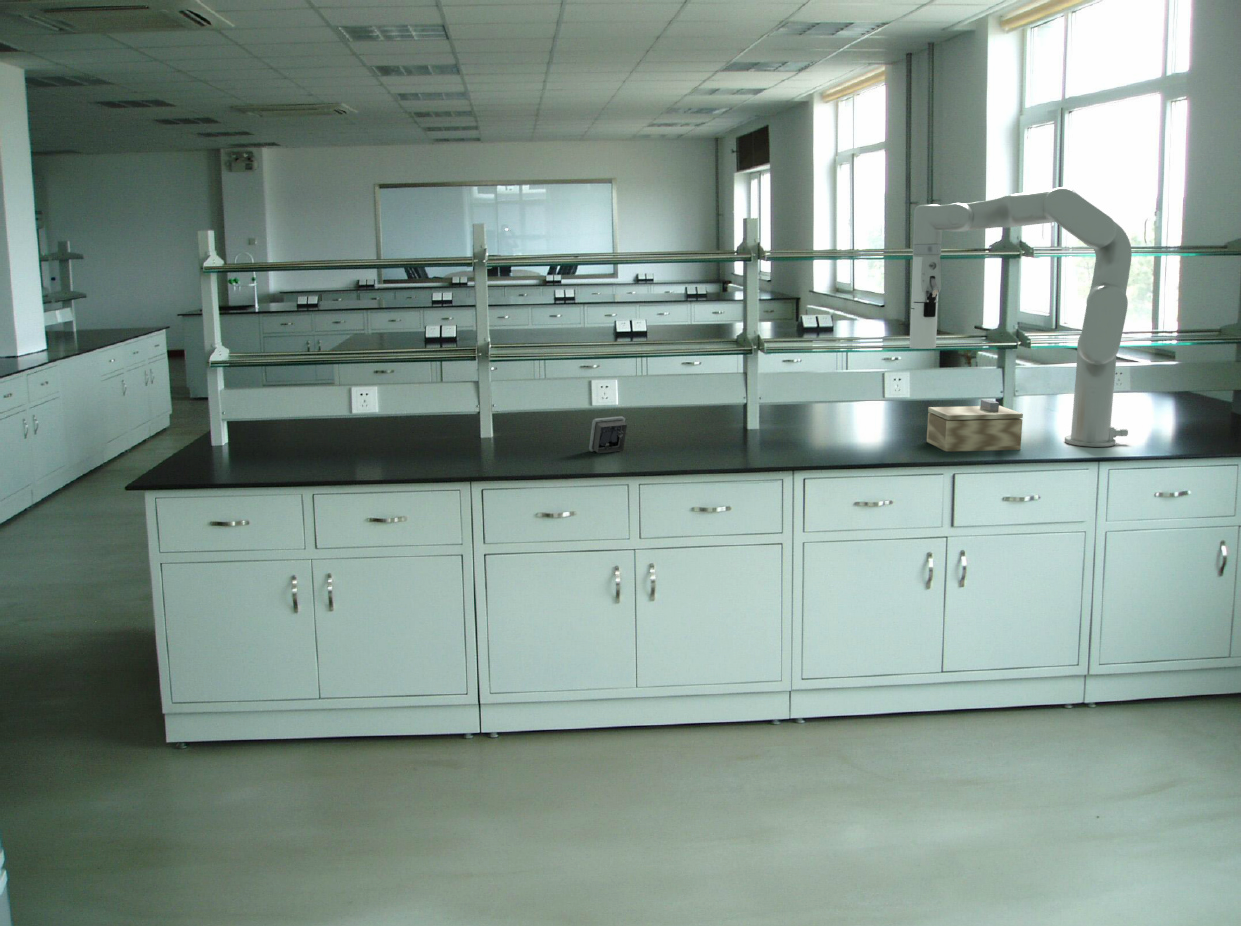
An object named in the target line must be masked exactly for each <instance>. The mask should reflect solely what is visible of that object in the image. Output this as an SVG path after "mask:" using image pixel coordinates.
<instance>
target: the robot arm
mask: <svg viewBox="0 0 1241 926" xmlns="http://www.w3.org/2000/svg"><path fill="white" fill-rule="evenodd" d="M913 215H914V216H913V237H912V238H913V241H912V244H913V245H912V257H913V256H918V257H923V258H922V270H921V285H922V292H924V293H925V302H924V314H923V316H924V317H935V315H936V301H937V299H936V297H937V293H938V294H939V293H940V292H941V290H942V264H941V263H942V262H941V256H942V240H943V238H942V237H943V231H948V232H955V233H956V232H960V233H961V232H969V231H977V230H983V229H985V230H986V229H994V228H1014V227H1015V228H1016V227H1025V226H1032V225H1039V224H1050V223H1056V224H1058V226H1060V227H1061V228H1062V229H1064V230H1065V231H1066V232H1068V233H1069V234H1071V235H1072V236H1073V237H1075V238H1076V239H1078V240H1079V241H1080V242H1082V243H1083V244H1084V245H1086V246H1087V247H1088V248H1092V249H1093V251H1094V254H1095V262H1094V268H1093V276H1092V279H1091V285H1090V290H1089V293H1088V295H1087V298H1086V308H1085V312H1084V318H1083V322H1082V323H1083V324H1082V327H1081V328H1082V329H1081V333H1080V335H1079V337H1078V340H1077V346H1076V347H1077V349H1076V368H1075V369H1076V371H1075V383H1074V392H1073V395H1074V396H1073V407H1072V408H1073V409H1072V419H1071V420H1072V421H1071V433H1070V435H1066V436H1065V437H1064V442H1065V443H1067V444H1069V445H1074V446H1079V447H1091V448H1093V447H1094V448H1104V447H1113V446H1115V445H1116V442H1117V441H1116V439H1115V438H1116V437H1128V435H1129V430H1128V429H1127V428H1122V429H1121V428H1120V429H1118V428H1115V427H1113V426H1111V425H1112V416H1113V415H1112V414H1113V401H1114V392H1115V391H1114V389H1115V382H1116V381H1115V379H1116V369H1117V366H1116V365H1117V354H1118V353H1119V349H1120V346H1121V342H1122V341H1121V340H1122V336H1123V332H1124V327H1125V324H1126V317H1127V313H1128V312H1127V311H1128V305H1129V303H1128V302H1129V301H1128V297H1127V289H1128V284H1129V277H1130V271H1131V265H1132V257H1133V256H1132V253H1133V252H1132V246H1131V242H1130V238H1129V237H1128V235H1127V233H1126V232H1125V230H1124V229H1123V227H1122V226H1120V224H1119V223H1117V222H1115V221H1114V219H1113V217H1112V218H1111V216H1109V215H1108V214H1106V213H1104V212H1103V211H1102V210H1101V209H1099V208H1098V207H1097V206H1095V205H1094V204H1092V203H1091V202H1089V201H1088V200H1087V199H1085V198H1084V197H1083V196H1081V195H1080V194H1079V193H1078V192H1076V191H1075V190H1073V188H1070V187H1065V186H1062V187H1056V188H1052V189H1045V190H1044V189H1043V190H1037V191H1030V192H1029V191H1028V192H1020V193H1012V194H1008V195H1004V196H1002V197H999V198H995V199H989V200H983V201H975V202H966V203H961V202H955V203H950V204H949V203H947V204H941V205H940V204H920V205H916V207H915V208H914V213H913ZM931 265H932V266H931ZM929 283H930V285H931V288H932V291H927V287H928V286H929ZM928 294H929V297H928ZM937 302H938V301H937Z"/></svg>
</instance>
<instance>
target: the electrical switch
mask: <svg viewBox="0 0 1241 926" xmlns="http://www.w3.org/2000/svg"><path fill="white" fill-rule="evenodd" d="M625 421H626V418H625V417H624V416H611V417H610V416H609V417H600V418H593V420H592V421H591V430H590V437H589V439H590V440H589V446H588V449H589V451H590V452H596V453H597V454H605V453H613V452H614V453H615V452H623V451H624V450H625V449H624V448H625V443H626V442H625V441H626V436H627V427H628V424H627V423H626V422H625Z"/></svg>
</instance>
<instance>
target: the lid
mask: <svg viewBox="0 0 1241 926" xmlns="http://www.w3.org/2000/svg"><path fill="white" fill-rule="evenodd" d="M927 412H928V413H933V414H935V415H937V416H940V417H942V418H944V419H947V420H970V419H1013V418H1020V419H1024V418H1023V417H1024V413H1023V412H1019V411H1016V410H1014V409H1010V408H1008V407H1004V406H1002V405H1000V403H999V402H998V401H995V400H993V399H990V398H989V399H988V398H987V399H980V405H977V406H976V405H975V406H974V405H972V406H970V405H969V406H968V405H967V406H933V407H932V406H928V410H927Z"/></svg>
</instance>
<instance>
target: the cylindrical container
mask: <svg viewBox="0 0 1241 926" xmlns="http://www.w3.org/2000/svg"><path fill="white" fill-rule="evenodd" d="M922 258H923V257H918V256H913V255H912V271H911V273H912V275H911V278H912V279H911V297H910V298H911V301H910V308H911V309H910V322H909V348H910V349H919V350H920V349H921V350H923V349H925V350H926V349H928V350H929V349H936V347H937V329H938V306H939V302H938V301H939V292H938V293H937V297H936V299H937V301H936V315H935V317H924V316H923V314H924V302H925V293H924V292H922V285H921V270H922ZM931 266H932V265H931ZM927 291H932V288H931V285H930V283H929V286H928V287H927ZM928 297H929V294H928Z"/></svg>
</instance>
